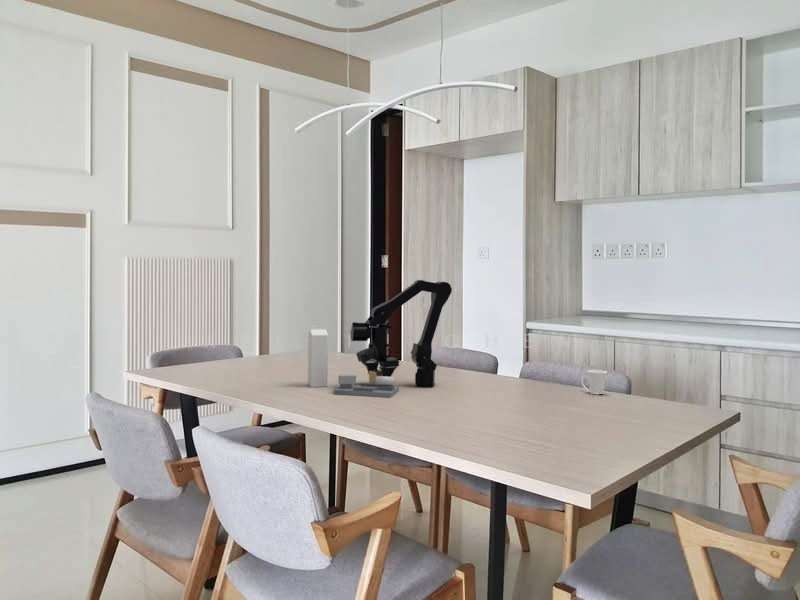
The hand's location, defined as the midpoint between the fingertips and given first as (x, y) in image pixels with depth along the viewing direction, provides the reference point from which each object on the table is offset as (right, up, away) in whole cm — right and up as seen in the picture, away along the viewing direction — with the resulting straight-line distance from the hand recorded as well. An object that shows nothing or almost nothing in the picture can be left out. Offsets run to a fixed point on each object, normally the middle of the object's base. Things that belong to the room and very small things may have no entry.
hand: (378, 383), depth 234 cm
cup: (+77, -3, -6) cm, 77 cm away
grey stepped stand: (-4, -2, -12) cm, 13 cm away
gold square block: (0, -1, 0) cm, 1 cm away
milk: (-22, -1, +1) cm, 22 cm away
